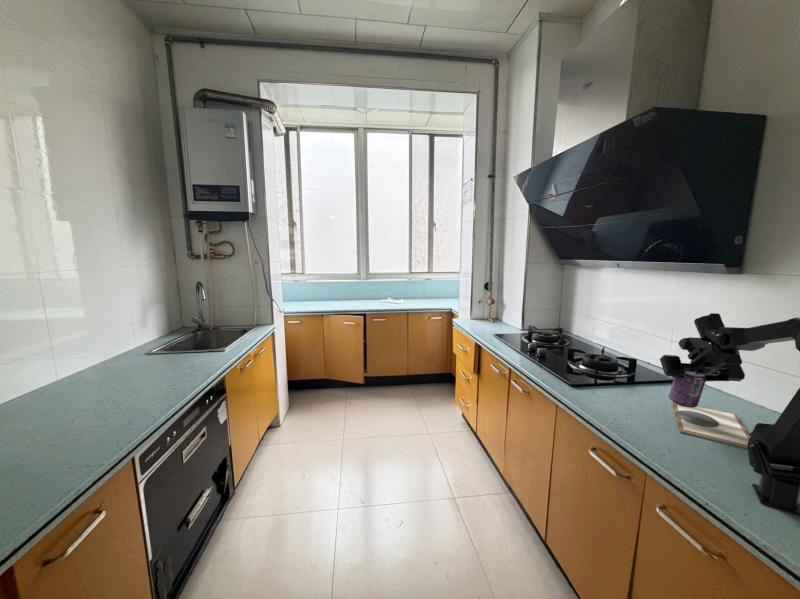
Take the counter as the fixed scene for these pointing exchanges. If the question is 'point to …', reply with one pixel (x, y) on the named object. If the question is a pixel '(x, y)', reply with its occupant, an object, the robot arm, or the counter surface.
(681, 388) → the beverage can
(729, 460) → the counter surface
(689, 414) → the wooden tray
